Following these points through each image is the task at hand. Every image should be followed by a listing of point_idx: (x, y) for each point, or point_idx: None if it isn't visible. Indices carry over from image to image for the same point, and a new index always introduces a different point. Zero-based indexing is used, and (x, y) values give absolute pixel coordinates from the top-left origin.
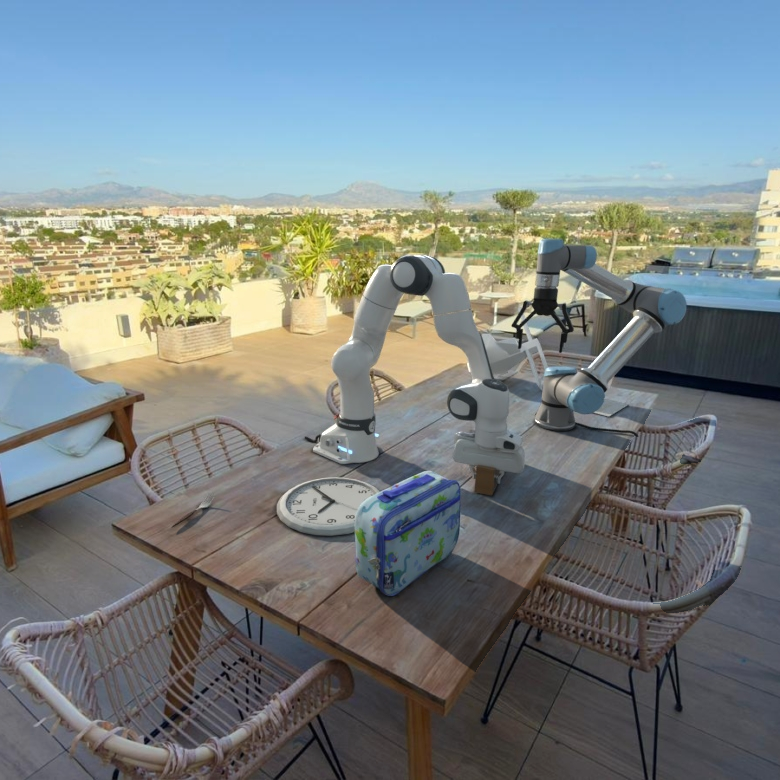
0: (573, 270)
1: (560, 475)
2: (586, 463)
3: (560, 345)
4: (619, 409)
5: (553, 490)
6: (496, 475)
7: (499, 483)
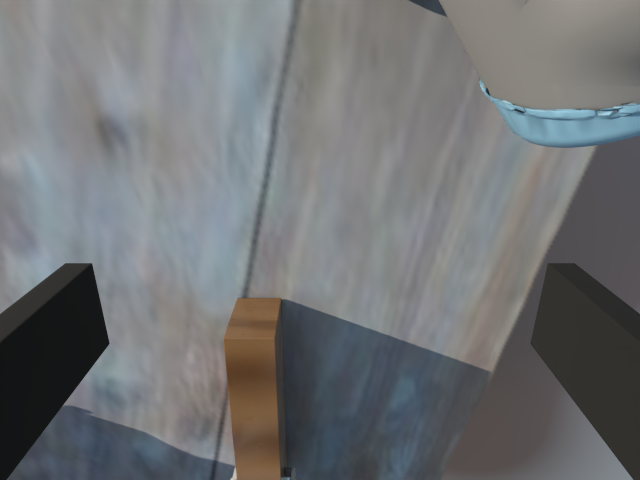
0: None
1: (420, 339)
2: (495, 244)
3: (582, 404)
4: None
5: (405, 409)
6: (284, 477)
7: (295, 475)
